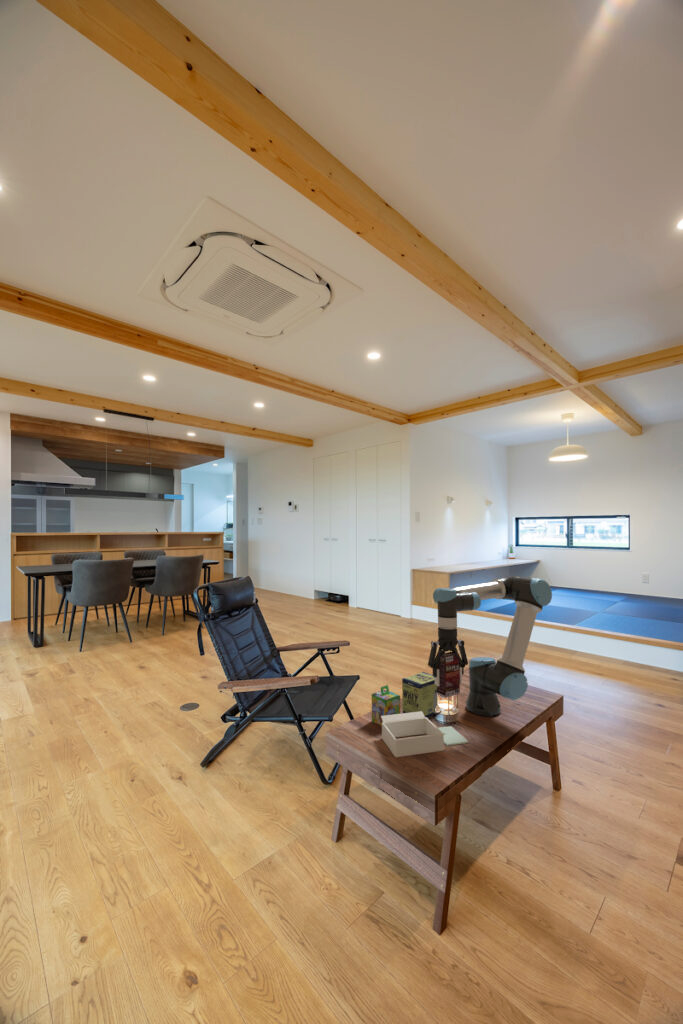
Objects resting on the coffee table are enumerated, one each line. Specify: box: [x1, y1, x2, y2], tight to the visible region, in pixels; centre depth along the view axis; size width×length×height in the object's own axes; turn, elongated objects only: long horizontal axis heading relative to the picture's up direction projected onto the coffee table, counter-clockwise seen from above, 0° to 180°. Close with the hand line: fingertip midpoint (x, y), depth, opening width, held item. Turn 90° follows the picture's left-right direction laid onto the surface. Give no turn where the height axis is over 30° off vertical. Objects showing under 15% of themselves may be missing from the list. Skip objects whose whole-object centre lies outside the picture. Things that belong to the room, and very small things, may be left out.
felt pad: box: [437, 725, 469, 747], centre depth 160 cm, size 9×13×1 cm
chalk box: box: [371, 684, 401, 727], centre depth 172 cm, size 9×9×15 cm
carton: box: [381, 711, 446, 758], centre depth 154 cm, size 19×20×7 cm
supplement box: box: [436, 651, 461, 699], centre depth 161 cm, size 9×5×16 cm, turn 123°
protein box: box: [401, 671, 437, 719], centre depth 182 cm, size 10×16×16 cm
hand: (448, 683), depth 161 cm, fingers closed on supplement box, 9 cm apart
